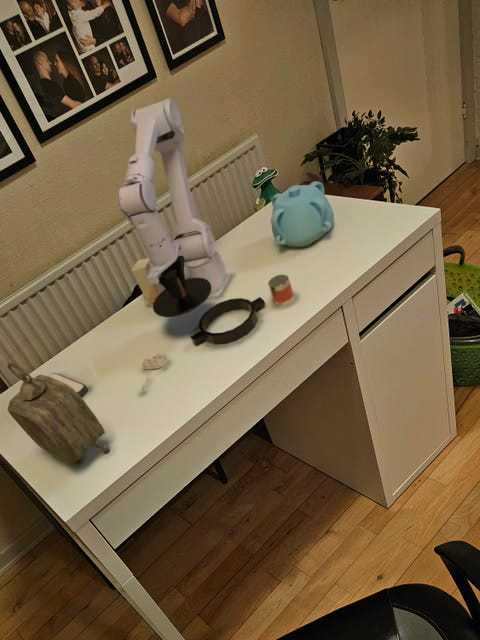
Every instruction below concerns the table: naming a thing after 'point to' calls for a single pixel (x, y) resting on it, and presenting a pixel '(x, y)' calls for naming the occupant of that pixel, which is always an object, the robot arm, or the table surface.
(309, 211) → the decorative pot
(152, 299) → the box
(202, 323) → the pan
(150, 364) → the game controller
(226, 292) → the table surface
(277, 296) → the can
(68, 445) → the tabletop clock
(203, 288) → the pan lid
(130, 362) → the table surface
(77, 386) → the phone case
